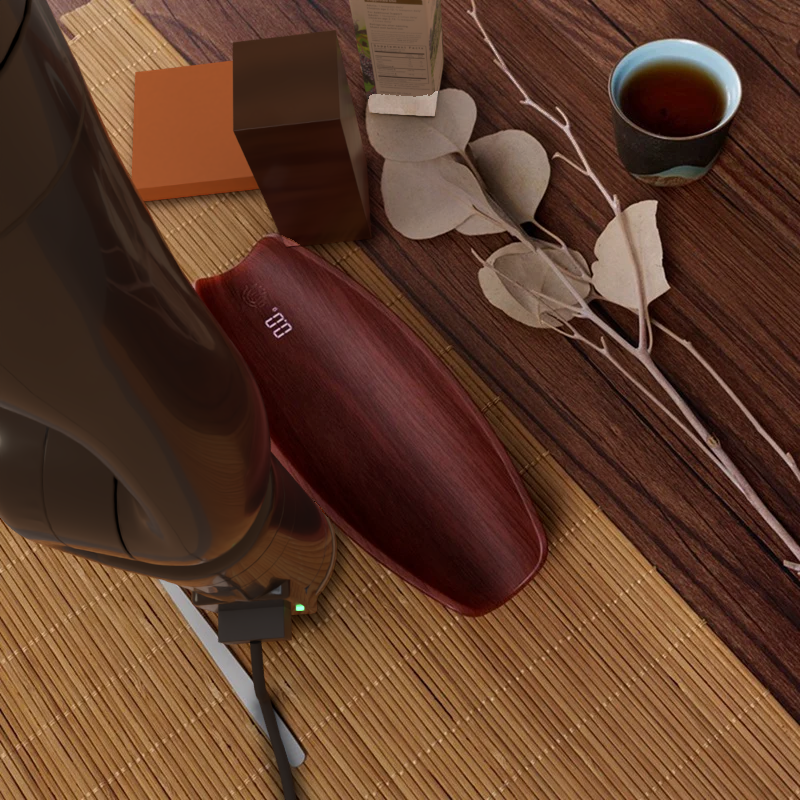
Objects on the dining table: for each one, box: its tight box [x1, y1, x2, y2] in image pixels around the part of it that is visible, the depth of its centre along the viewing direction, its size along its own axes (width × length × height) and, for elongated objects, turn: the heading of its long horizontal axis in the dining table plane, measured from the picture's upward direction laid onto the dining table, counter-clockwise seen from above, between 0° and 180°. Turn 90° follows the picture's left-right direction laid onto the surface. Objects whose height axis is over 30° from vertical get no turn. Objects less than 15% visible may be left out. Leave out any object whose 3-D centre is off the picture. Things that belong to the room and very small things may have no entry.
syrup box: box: [348, 0, 445, 103], centre depth 71 cm, size 6×6×14 cm
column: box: [232, 29, 372, 247], centre depth 68 cm, size 7×7×16 cm
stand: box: [131, 60, 260, 202], centre depth 78 cm, size 12×12×2 cm
